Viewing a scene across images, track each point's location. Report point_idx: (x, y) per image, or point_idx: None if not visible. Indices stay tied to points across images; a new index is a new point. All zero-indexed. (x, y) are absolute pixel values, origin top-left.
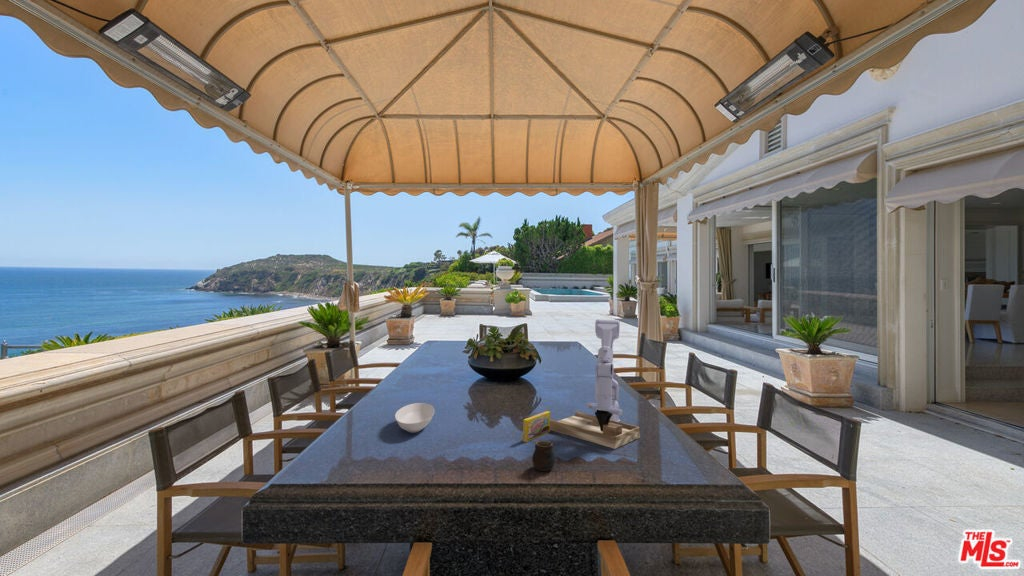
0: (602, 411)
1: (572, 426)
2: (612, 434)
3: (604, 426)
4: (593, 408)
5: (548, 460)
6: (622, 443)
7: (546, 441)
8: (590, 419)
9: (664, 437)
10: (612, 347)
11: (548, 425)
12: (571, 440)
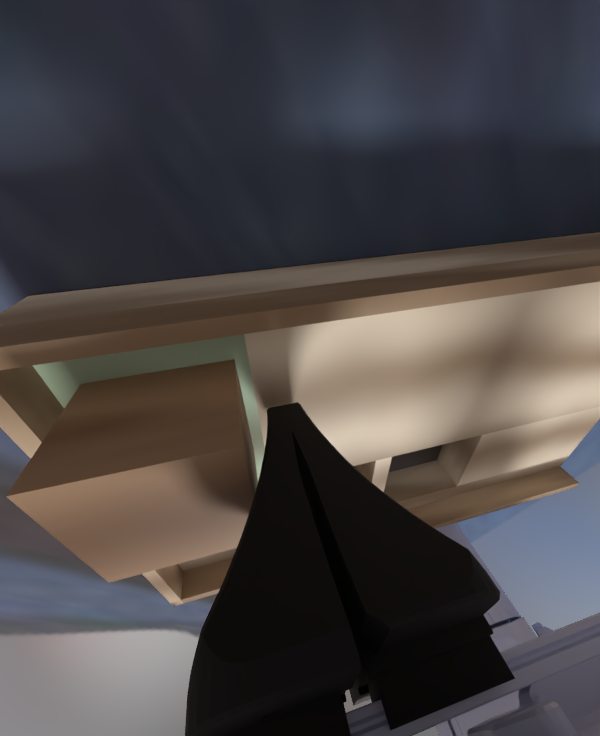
0: (379, 694)
1: (579, 267)
2: (95, 409)
3: (216, 441)
4: (579, 645)
5: None
6: None
7: None
8: (475, 487)
9: (123, 597)
10: None
11: None
12: (470, 134)
